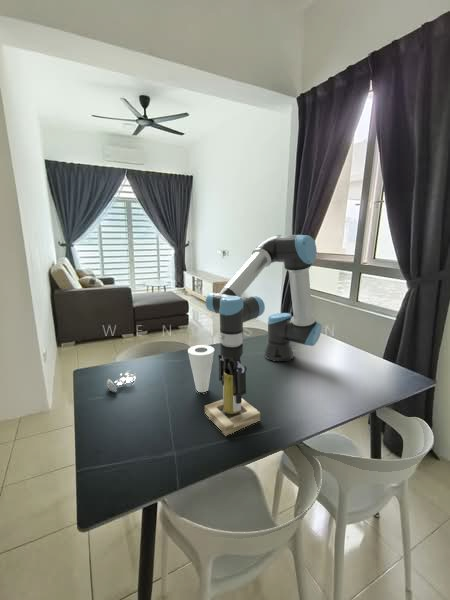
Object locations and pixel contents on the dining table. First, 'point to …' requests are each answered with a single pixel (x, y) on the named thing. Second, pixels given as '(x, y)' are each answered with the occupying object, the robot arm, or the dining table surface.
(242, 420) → the square wooden frame
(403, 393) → the dining table surface
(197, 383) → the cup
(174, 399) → the dining table surface
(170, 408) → the dining table surface
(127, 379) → the figurine
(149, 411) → the dining table surface
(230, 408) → the vase
